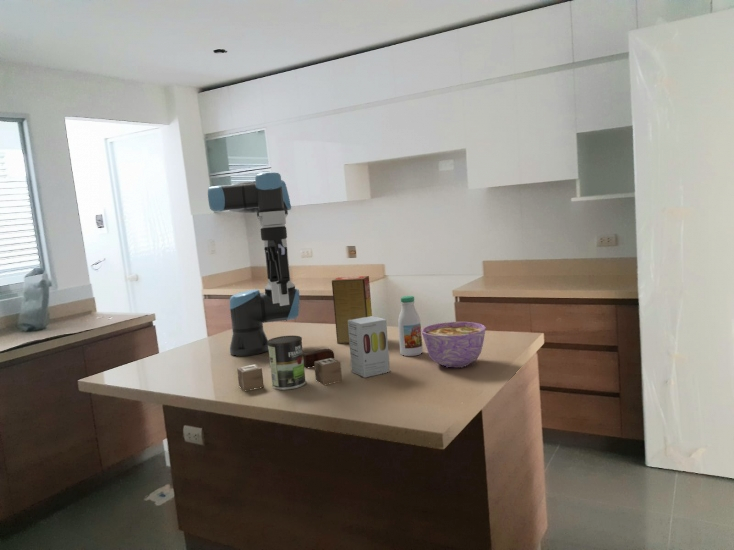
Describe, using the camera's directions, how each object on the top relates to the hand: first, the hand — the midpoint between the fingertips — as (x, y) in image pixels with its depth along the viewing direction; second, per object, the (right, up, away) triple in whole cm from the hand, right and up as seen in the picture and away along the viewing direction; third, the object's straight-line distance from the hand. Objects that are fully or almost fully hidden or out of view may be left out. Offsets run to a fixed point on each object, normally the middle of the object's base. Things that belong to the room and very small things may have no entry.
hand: (281, 303), depth 166 cm
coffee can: (+2, -25, +3) cm, 25 cm away
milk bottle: (+41, -19, +27) cm, 52 cm away
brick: (+9, -22, +23) cm, 33 cm away
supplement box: (+27, -22, +9) cm, 36 cm away
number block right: (+14, -24, +4) cm, 28 cm away
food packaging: (+21, -17, +53) cm, 60 cm away
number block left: (-10, -26, +4) cm, 28 cm away
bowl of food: (+54, -20, +9) cm, 58 cm away
